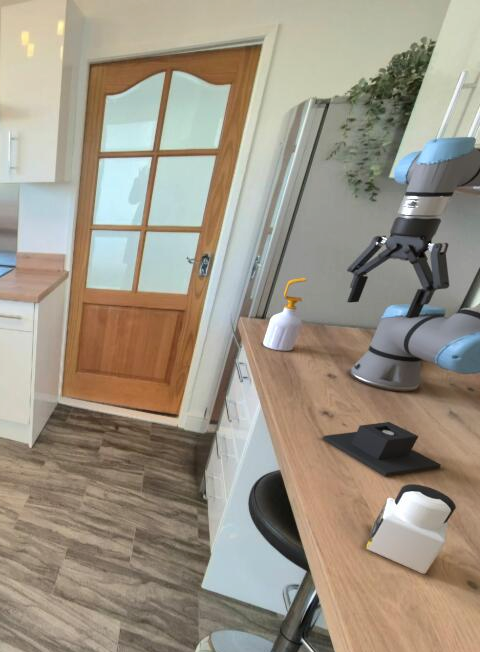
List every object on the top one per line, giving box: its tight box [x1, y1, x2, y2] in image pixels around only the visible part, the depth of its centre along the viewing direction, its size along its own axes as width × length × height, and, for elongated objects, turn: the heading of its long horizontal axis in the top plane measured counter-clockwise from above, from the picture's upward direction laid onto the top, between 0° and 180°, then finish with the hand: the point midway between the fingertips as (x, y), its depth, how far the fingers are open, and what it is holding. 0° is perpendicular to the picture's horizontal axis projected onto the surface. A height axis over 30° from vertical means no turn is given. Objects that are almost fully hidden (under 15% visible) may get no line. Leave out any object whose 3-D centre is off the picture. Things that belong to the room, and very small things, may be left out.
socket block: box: [351, 421, 419, 460], centre depth 94 cm, size 8×6×5 cm
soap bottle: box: [262, 277, 307, 352], centre depth 148 cm, size 9×9×25 cm
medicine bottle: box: [366, 483, 457, 575], centre depth 69 cm, size 7×7×12 cm
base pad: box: [322, 430, 442, 477], centre depth 94 cm, size 14×14×6 cm
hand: (380, 309), depth 105 cm, fingers open, 13 cm apart
